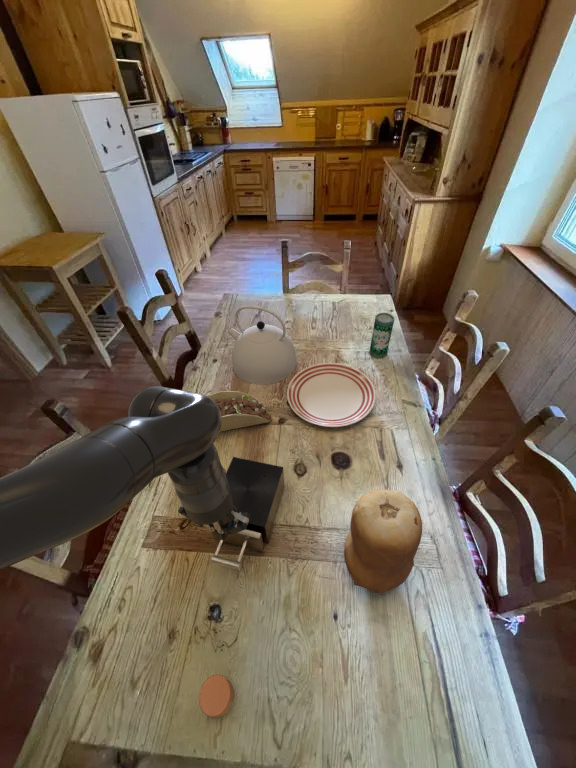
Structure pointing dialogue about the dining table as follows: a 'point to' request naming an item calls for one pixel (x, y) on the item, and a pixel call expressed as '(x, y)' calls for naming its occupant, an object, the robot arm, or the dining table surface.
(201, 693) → the copper tin
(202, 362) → the dining table surface
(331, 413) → the dinner plate
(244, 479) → the black rectangular box
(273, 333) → the kettle
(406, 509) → the butternut squash
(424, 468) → the dining table surface
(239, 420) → the taco
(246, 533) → the wooden drawer
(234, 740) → the dining table surface
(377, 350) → the can
